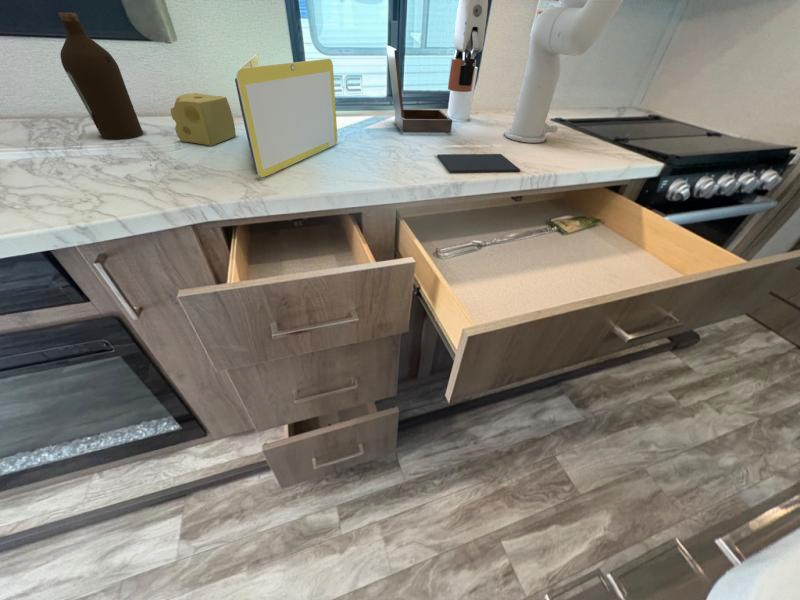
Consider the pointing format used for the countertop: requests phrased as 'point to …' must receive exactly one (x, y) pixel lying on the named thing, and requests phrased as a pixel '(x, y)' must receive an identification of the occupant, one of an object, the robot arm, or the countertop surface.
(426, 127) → the brown wooden box
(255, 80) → the tablet
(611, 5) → the robot arm
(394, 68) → the lid
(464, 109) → the white cylinder
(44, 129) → the countertop surface
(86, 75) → the olive oil
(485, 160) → the mat
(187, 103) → the cheese
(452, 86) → the orange cup
